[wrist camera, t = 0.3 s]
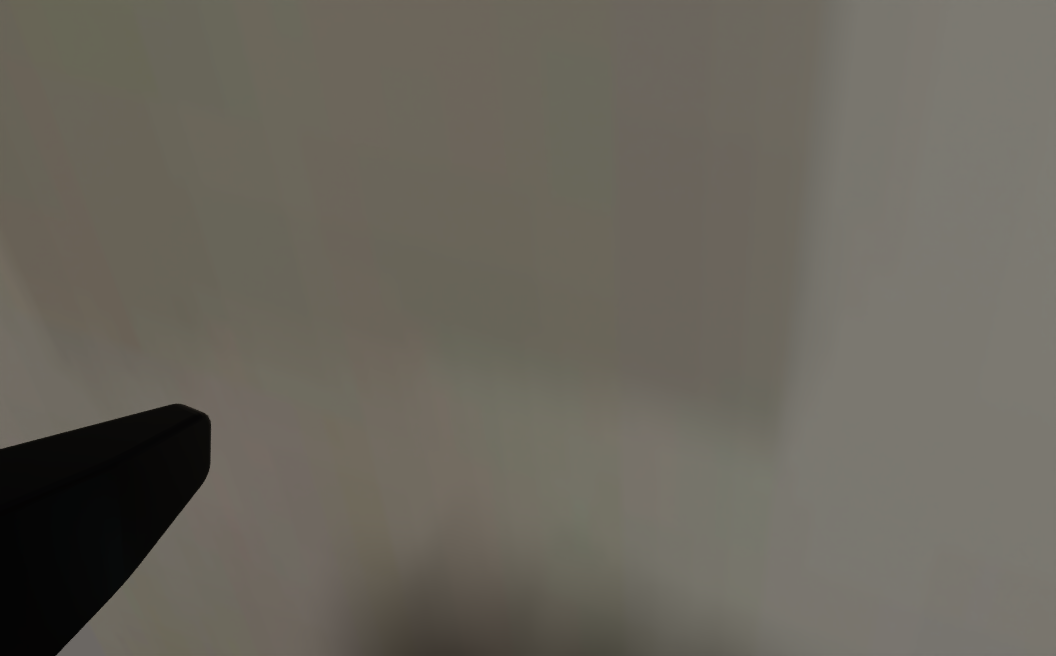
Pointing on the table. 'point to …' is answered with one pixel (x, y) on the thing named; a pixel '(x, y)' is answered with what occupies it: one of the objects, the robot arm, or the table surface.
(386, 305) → the table surface
